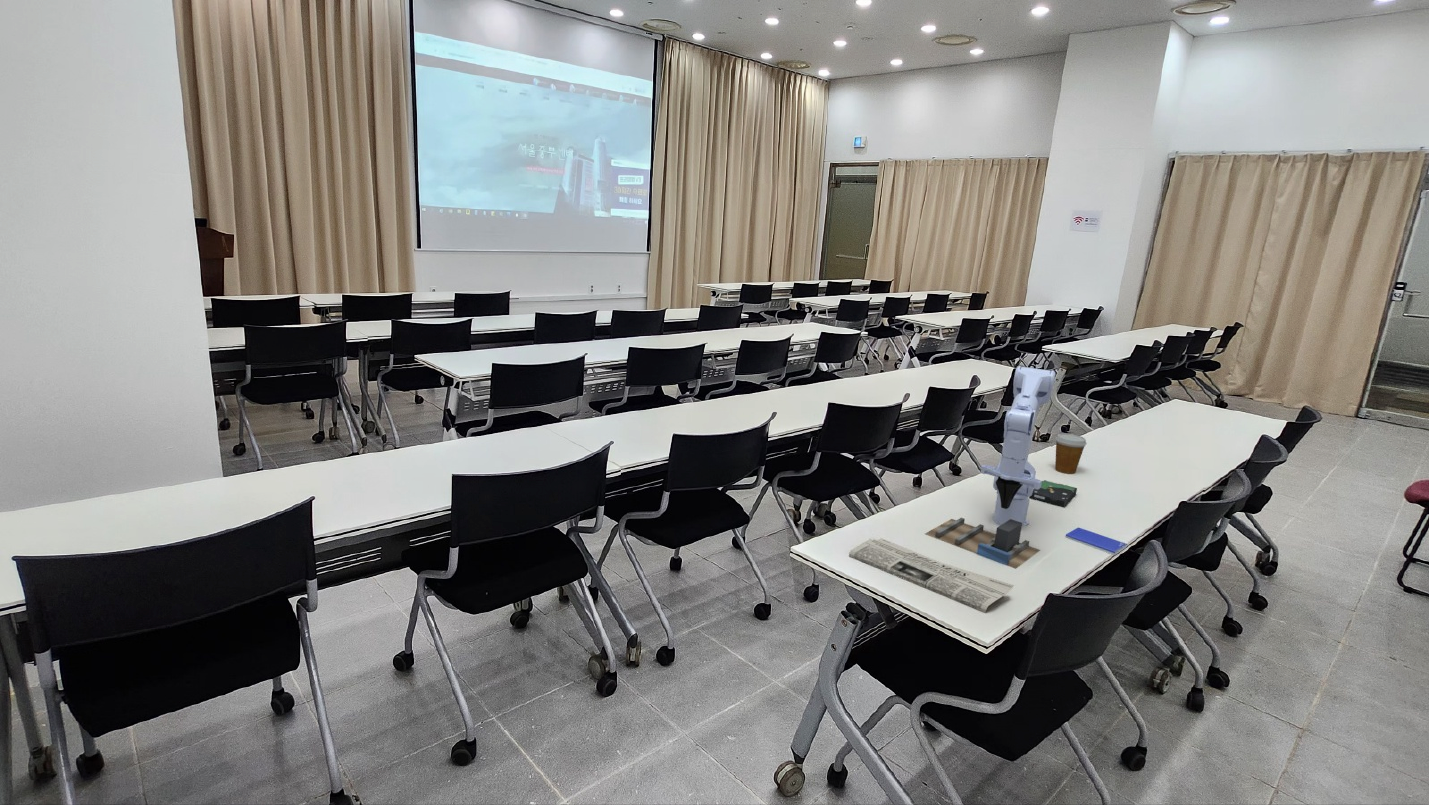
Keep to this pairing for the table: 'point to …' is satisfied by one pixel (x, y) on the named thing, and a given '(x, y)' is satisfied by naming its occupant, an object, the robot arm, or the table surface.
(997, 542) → the dark grey tall block
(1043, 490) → the disk drive
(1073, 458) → the disposable coffee cup
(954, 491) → the table surface
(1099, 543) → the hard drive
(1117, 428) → the table surface
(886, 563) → the newspaper
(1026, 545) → the board
